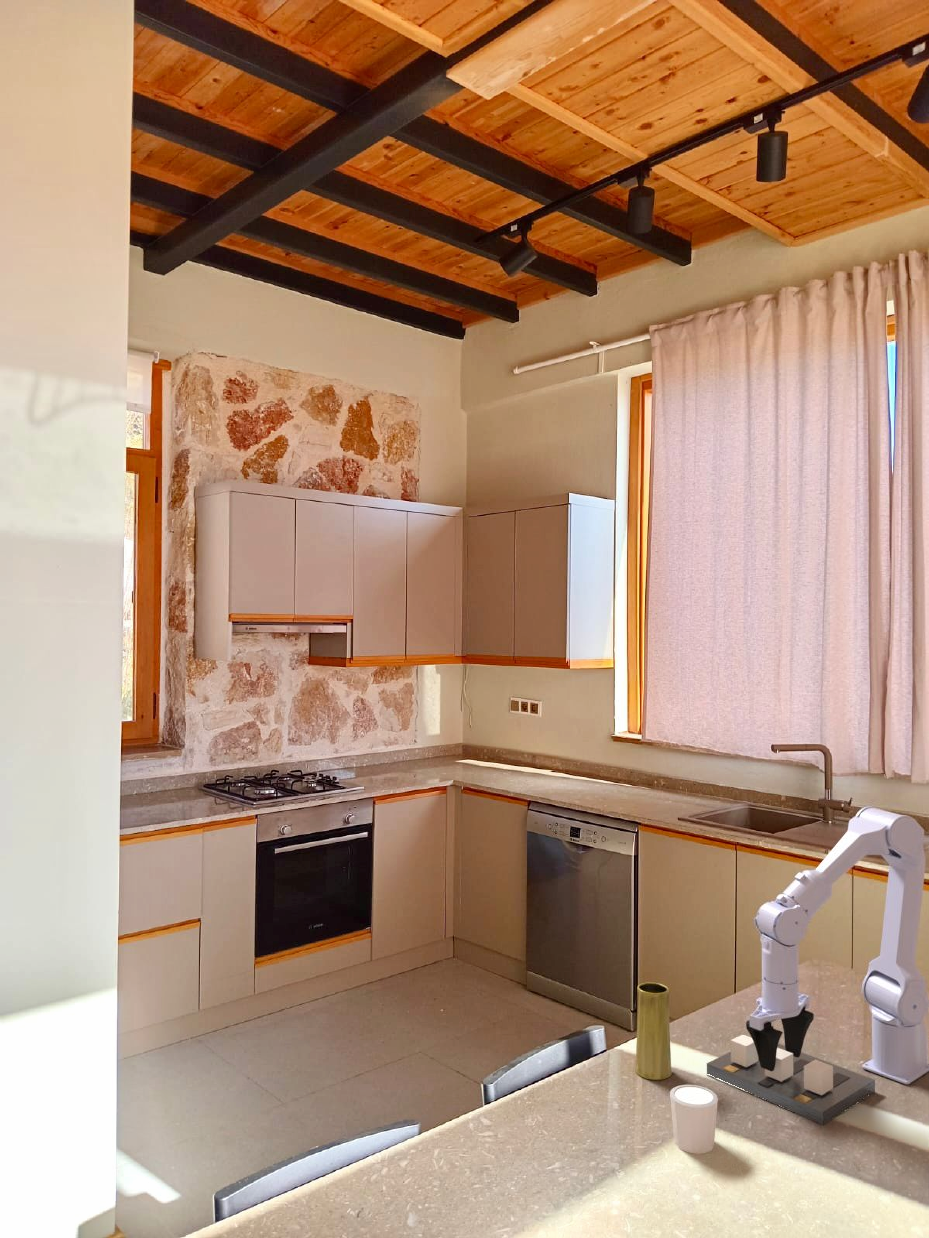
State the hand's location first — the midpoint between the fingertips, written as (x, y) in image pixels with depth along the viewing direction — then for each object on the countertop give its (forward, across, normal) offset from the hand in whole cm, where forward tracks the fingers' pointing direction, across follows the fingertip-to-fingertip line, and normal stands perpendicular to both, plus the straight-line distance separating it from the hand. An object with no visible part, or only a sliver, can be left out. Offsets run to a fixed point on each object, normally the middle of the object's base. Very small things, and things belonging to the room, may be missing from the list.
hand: (780, 1061), depth 155 cm
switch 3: (+2, 0, +6) cm, 7 cm away
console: (+4, -3, 0) cm, 5 cm away
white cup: (+5, +24, +1) cm, 25 cm away
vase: (+5, +11, -17) cm, 21 cm away
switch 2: (+2, 0, 0) cm, 2 cm away
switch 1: (+2, 0, -6) cm, 7 cm away
